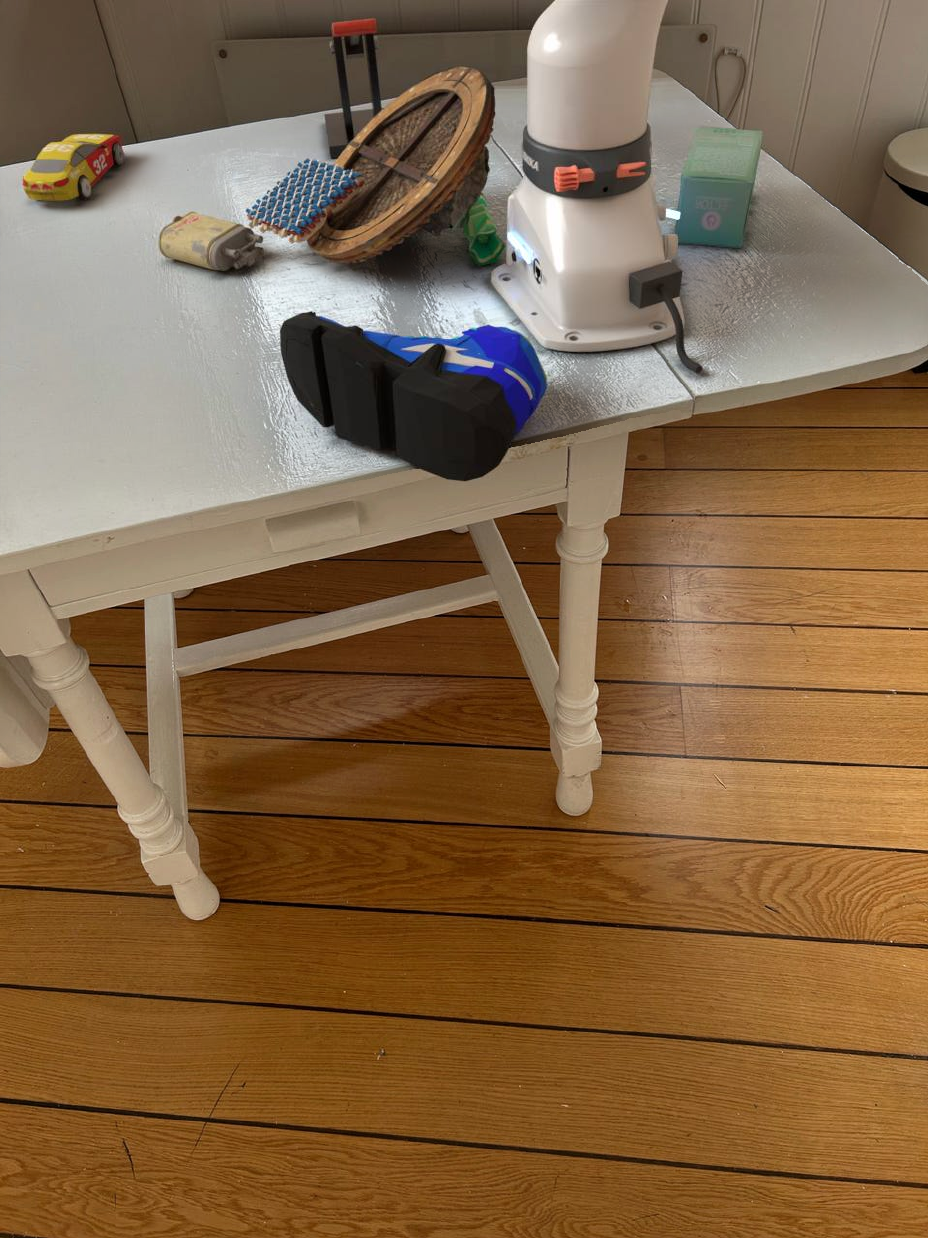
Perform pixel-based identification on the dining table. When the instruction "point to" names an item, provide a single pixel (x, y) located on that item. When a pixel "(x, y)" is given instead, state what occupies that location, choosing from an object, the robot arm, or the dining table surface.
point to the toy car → (72, 167)
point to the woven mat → (305, 200)
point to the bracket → (349, 122)
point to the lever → (354, 35)
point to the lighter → (209, 242)
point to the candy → (482, 234)
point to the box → (718, 187)
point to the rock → (460, 199)
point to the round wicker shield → (409, 163)
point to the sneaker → (417, 390)
